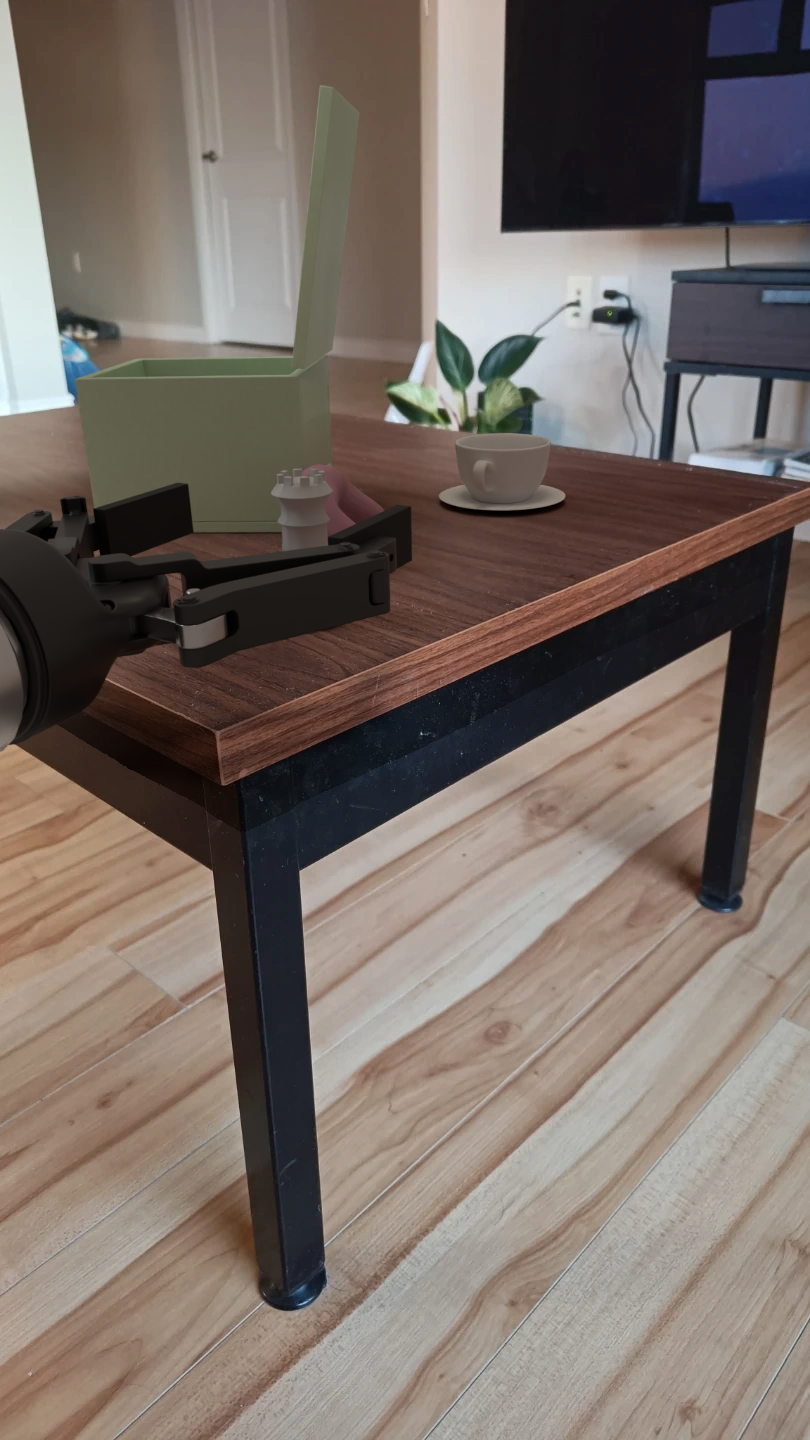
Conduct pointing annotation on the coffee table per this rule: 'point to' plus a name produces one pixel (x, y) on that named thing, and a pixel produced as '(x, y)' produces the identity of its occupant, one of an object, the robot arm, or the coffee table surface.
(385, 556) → the robot arm
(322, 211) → the chest lid
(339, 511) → the video game controller
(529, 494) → the teacup
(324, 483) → the rook chess piece
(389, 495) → the coffee table surface
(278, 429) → the storage chest
